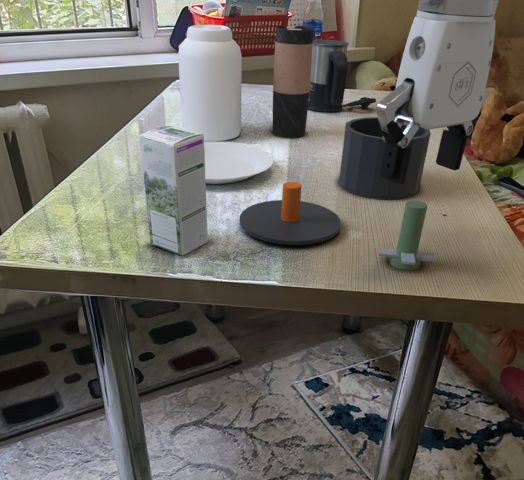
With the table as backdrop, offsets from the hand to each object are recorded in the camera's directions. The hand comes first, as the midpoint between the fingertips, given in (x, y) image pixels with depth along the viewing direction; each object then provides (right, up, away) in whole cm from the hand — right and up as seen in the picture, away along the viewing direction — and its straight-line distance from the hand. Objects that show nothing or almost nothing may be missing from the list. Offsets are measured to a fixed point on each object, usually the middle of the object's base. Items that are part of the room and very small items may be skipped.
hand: (420, 173), depth 64 cm
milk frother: (+1, +40, +75) cm, 85 cm away
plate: (-27, +11, +34) cm, 45 cm away
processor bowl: (+1, +8, +30) cm, 31 cm away
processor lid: (-15, -2, +15) cm, 21 cm away
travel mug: (-13, +26, +55) cm, 62 cm away
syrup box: (-30, -7, +10) cm, 32 cm away
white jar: (-29, +25, +53) cm, 65 cm away
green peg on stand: (0, -9, +7) cm, 12 cm away
